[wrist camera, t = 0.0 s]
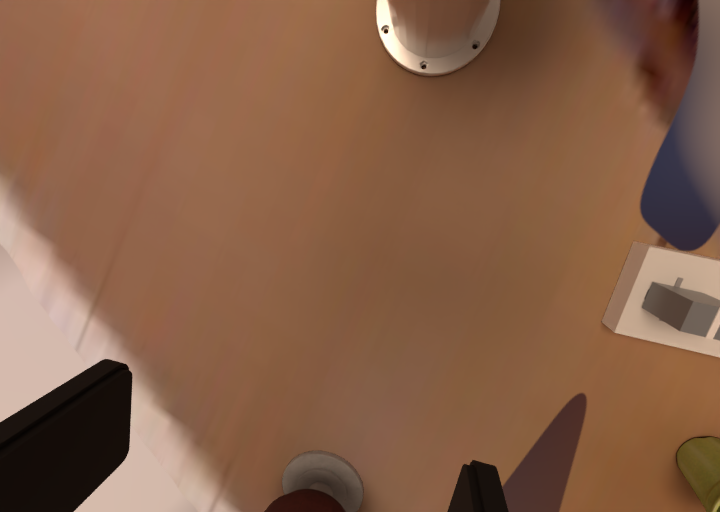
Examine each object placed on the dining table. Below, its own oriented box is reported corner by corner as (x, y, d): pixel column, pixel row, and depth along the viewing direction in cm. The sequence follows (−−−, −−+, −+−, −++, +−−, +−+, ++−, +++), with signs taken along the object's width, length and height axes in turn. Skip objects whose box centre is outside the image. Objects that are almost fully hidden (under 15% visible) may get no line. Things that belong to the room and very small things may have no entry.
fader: (652, 281, 39) (694, 301, 33) (703, 292, 39) (754, 314, 33) (641, 308, 40) (680, 332, 34) (690, 319, 39) (738, 345, 34)
